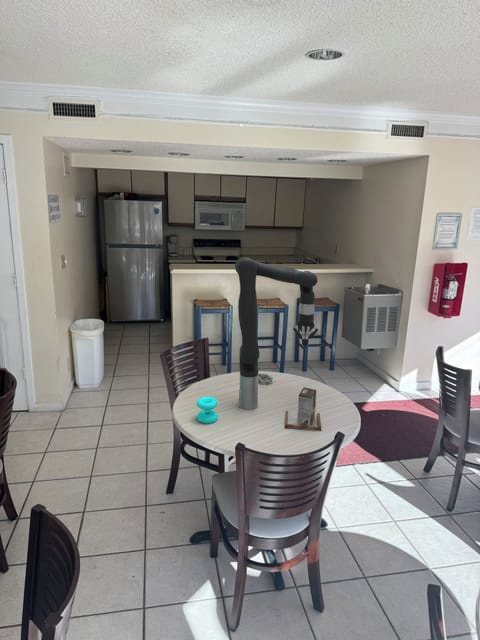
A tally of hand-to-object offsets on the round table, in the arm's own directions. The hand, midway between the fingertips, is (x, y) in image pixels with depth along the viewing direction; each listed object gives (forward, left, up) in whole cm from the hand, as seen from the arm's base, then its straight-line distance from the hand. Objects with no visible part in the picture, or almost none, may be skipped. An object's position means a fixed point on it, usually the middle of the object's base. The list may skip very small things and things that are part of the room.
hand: (304, 345), depth 219 cm
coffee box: (+2, -23, -31) cm, 38 cm away
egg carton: (-21, +25, -31) cm, 45 cm away
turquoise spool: (-45, -25, -31) cm, 60 cm away
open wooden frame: (0, -21, -31) cm, 37 cm away
